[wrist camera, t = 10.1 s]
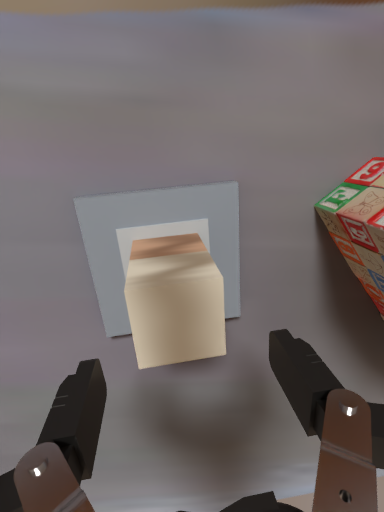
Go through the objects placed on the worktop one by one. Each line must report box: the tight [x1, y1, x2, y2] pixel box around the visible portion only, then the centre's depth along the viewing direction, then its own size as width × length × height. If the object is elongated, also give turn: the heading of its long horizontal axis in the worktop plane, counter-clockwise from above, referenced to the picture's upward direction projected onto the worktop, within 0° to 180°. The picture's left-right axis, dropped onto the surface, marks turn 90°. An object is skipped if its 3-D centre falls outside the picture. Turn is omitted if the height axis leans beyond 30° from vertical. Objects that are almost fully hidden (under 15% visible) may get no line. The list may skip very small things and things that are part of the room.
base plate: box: [73, 181, 240, 337], centre depth 22 cm, size 12×12×1 cm
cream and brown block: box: [124, 233, 226, 369], centre depth 18 cm, size 5×5×8 cm
